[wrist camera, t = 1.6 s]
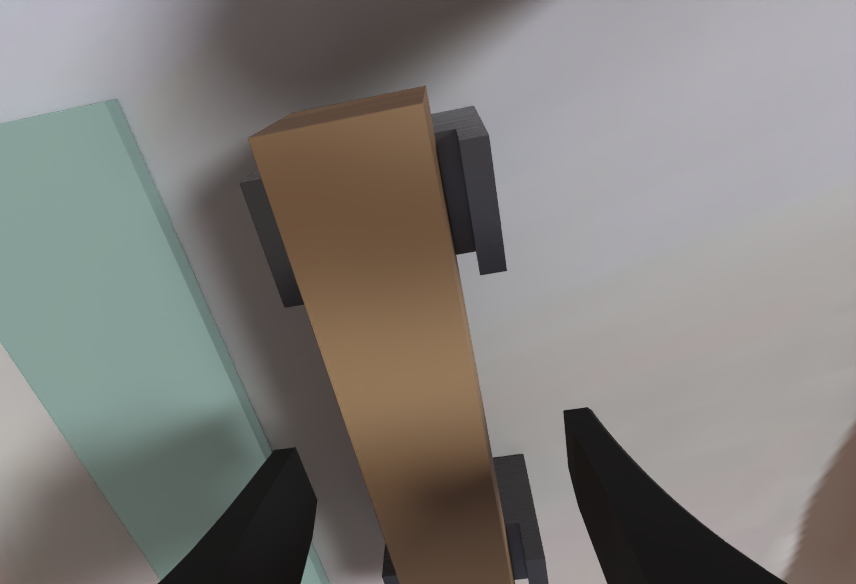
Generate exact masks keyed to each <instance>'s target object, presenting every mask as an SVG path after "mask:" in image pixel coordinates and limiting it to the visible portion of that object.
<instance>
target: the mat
mask: <svg viewBox="0 0 856 584" xmlns="http://www.w3.org/2000/svg"><path fill="white" fill-rule="evenodd" d="M0 342H1V344H2V345H3V347H4V348H5V350H6V351H7V352H8V354H9V355H10V357H11V358H12V360H13V361H14V363H15V364H16V366H17V367H18V369H19V370H20V372H21V373H22V375H23V376H24V378H25V379H26V381H27V382H28V384H29V385H30V387H31V388H32V390H33V391H34V393H35V394H36V396H37V397H38V399H39V400H40V402H41V403H42V405H43V406H44V407H45V409H46V410H47V412H48V413H49V415H50V416H51V418H52V419H53V421H54V422H55V424H56V425H57V427H58V428H59V430H60V431H61V433H62V434H63V436H64V437H65V439H66V440H67V442H68V443H69V445H70V446H71V448H72V449H73V451H74V452H75V454H76V455H77V457H78V458H79V460H80V461H81V462H82V464H83V465H84V467H85V468H86V470H87V471H88V473H89V474H90V476H91V477H92V479H93V480H94V482H95V483H96V485H97V486H98V488H99V489H100V491H101V492H102V494H103V495H104V497H105V498H106V500H107V501H108V503H109V504H110V506H111V507H112V509H113V510H114V512H115V513H116V515H117V516H118V517H119V519H120V520H121V522H122V523H123V525H124V526H125V528H126V529H127V531H128V532H129V534H130V535H131V537H132V538H133V540H134V541H135V543H136V544H137V546H138V547H139V549H140V550H141V552H142V553H143V555H144V556H145V558H146V559H147V561H148V562H149V564H150V565H151V567H152V568H153V570H154V571H155V572H156V574H157V575H158V577H159V578H160V580H162V579H163V578H164V577H165V576H166V575H167V574H168V573H169V572H170V571H171V570H172V569H173V568H174V567H175V566H176V565H177V564H178V563H179V562H180V561H181V560H182V559H183V558H184V557H185V556H186V555H187V554H188V553H189V552H190V551H191V550H192V549H193V548H194V546H195V545H196V544H197V543H198V542H199V541H200V540H201V539H202V537H203V536H204V535H205V534H206V533H207V532H208V531H209V529H210V528H211V527H212V526H213V525H214V524H215V523H216V521H217V520H218V519H219V518H220V517H221V516H222V515H223V513H224V512H225V511H226V510H227V508H228V507H229V506H230V505H231V504H232V502H233V501H234V500H235V499H236V497H237V496H238V495H239V494H240V492H241V491H242V490H243V489H244V488H245V486H246V485H247V484H248V482H249V481H250V480H251V479H252V477H253V476H254V475H255V474H256V472H257V471H258V470H259V468H260V467H261V466H262V465H263V463H264V462H265V461H266V460H267V458H268V457H269V456H270V455H271V454H272V451H271V449H270V446H269V444H268V442H267V439H266V437H265V435H264V433H263V430H262V428H261V426H260V424H259V421H258V419H257V417H256V414H255V412H254V410H253V408H252V405H251V403H250V401H249V398H248V396H247V394H246V392H245V389H244V387H243V385H242V382H241V380H240V378H239V376H238V373H237V371H236V369H235V367H234V364H233V362H232V360H231V357H230V355H229V353H228V351H227V348H226V346H225V344H224V341H223V339H222V337H221V335H220V332H219V330H218V328H217V326H216V323H215V321H214V319H213V316H212V314H211V312H210V310H209V307H208V305H207V303H206V300H205V298H204V296H203V294H202V291H201V289H200V287H199V285H198V282H197V280H196V278H195V275H194V273H193V271H192V269H191V266H190V264H189V262H188V259H187V257H186V255H185V253H184V250H183V248H182V246H181V244H180V241H179V239H178V237H177V234H176V232H175V230H174V228H173V225H172V223H171V221H170V218H169V216H168V214H167V212H166V209H165V207H164V205H163V203H162V200H161V198H160V196H159V193H158V191H157V189H156V187H155V184H154V182H153V180H152V177H151V175H150V173H149V171H148V168H147V166H146V164H145V162H144V159H143V157H142V155H141V152H140V150H139V148H138V146H137V143H136V141H135V139H134V136H133V134H132V132H131V130H130V127H129V125H128V123H127V120H126V118H125V116H124V114H123V111H122V109H121V107H120V105H119V102H118V100H117V99H114V100H109V101H105V102H100V103H95V104H91V105H86V106H81V107H77V108H72V109H67V110H63V111H58V112H53V113H49V114H44V115H39V116H35V117H30V118H25V119H21V120H16V121H11V122H7V123H2V124H0ZM301 584H330V583H329V581H328V578H327V576H326V574H325V572H324V569H323V567H322V565H321V562H320V560H319V558H318V556H317V553H316V551H315V549H314V547H313V544H312V542H311V545H310V549H309V553H308V557H307V561H306V565H305V569H304V573H303V577H302V581H301Z"/></svg>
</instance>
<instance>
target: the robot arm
mask: <svg viewBox="0 0 856 584" xmlns="http://www.w3.org/2000/svg"><path fill="white" fill-rule="evenodd" d="M563 412H564V423H565V435H566V446H567V457H568V468H569V472H570V476H571V480H572V484H573V488H574V492H575V495H576V499H577V503H578V507H579V509H580V512H581V515H582V517H583V520H584V523H585V525H586V528H587V531H588V534H589V536H590V539H591V542H592V544H593V547H594V549H595V552H596V555H597V557H598V560H599V563H600V565H601V568H602V571H603V573H604V576H605V579H606V581H607V584H787V583H786V582H784V581H783V580H781V579H779V578H778V577H776V576H775V575H773V574H772V573H770V572H768V571H767V570H766V569H764V568H763V567H761V566H760V565H758V564H757V563H755V562H754V561H753V560H751V559H750V558H748V557H747V556H745V555H744V554H743V553H741V552H740V551H738V550H737V549H735V548H734V547H733V546H731V545H730V544H728V543H727V542H725V541H724V540H723V539H722V538H720V537H719V536H718V535H716V534H715V533H714V532H712V531H711V530H710V529H709V528H707V527H706V526H705V525H703V524H702V523H701V522H700V521H699V520H697V519H696V518H695V517H694V516H693V515H691V514H690V513H689V512H688V511H686V510H685V509H684V508H683V507H682V506H681V505H680V504H678V503H677V502H676V501H675V500H674V499H673V498H672V497H671V496H669V495H668V494H667V493H666V492H665V491H664V490H663V489H662V488H661V487H660V486H659V485H658V484H657V483H656V482H655V481H654V480H652V479H651V478H650V477H649V476H648V475H647V474H646V473H645V472H644V471H643V470H642V468H641V467H640V466H639V465H638V464H637V463H636V462H635V461H634V460H633V459H632V458H631V457H630V456H629V455H628V454H627V453H626V452H625V450H624V449H623V448H622V447H621V446H620V445H619V444H618V443H617V441H616V440H615V439H614V438H613V437H612V436H611V434H610V433H609V432H608V431H607V430H606V428H605V427H604V426H603V425H602V423H601V422H600V421H599V419H598V418H597V417H596V415H595V414H594V413H593V411H592V410H591V409H589V408H588V407H586V408H579V409H572V410H564V411H563ZM316 505H317V498H316V496H315V493H314V491H313V489H312V486H311V484H310V481H309V479H308V476H307V474H306V472H305V469H304V467H303V464H302V462H301V460H300V457H299V455H298V452H297V450H296V447H295V448H287V449H280V450H274V451H273V452H272V454H271V455H270V456H269V457H268V458H267V460H266V461H265V462H264V463H263V465H262V466H261V467H260V468H259V470H258V471H257V472H256V474H255V475H254V476H253V477H252V479H251V480H250V481H249V482H248V484H247V485H246V486H245V488H244V489H243V490H242V491H241V492H240V494H239V495H238V496H237V497H236V499H235V500H234V501H233V502H232V504H231V505H230V506H229V507H228V508H227V510H226V511H225V512H224V513H223V515H222V516H221V517H220V518H219V519H218V520H217V521H216V523H215V524H214V525H213V526H212V527H211V528H210V529H209V531H208V532H207V533H206V534H205V535H204V536H203V537H202V539H201V540H200V541H199V542H198V543H197V544H196V545H195V546H194V548H193V549H192V550H191V551H190V552H189V553H188V554H187V555H186V556H185V557H184V558H183V559H182V560H181V561H180V562H179V563H178V564H177V565H176V566H175V567H174V568H173V569H172V570H171V571H170V572H169V573H168V574H167V575H166V576H165V577H164V578H163V579H162V580H161V581H160V582H159V583H158V584H301V581H302V577H303V573H304V569H305V565H306V561H307V557H308V553H309V549H310V545H311V541H312V536H313V529H314V522H315V514H316Z"/></svg>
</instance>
